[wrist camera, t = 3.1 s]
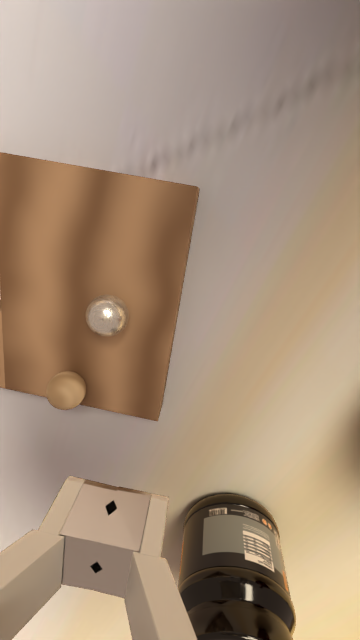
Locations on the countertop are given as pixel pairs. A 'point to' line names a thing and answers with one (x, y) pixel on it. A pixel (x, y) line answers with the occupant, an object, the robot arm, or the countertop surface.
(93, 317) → the steel ball
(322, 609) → the countertop surface
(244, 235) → the countertop surface
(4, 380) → the board
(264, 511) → the supplement container
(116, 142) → the countertop surface
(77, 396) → the cork ball
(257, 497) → the countertop surface
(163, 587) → the robot arm
